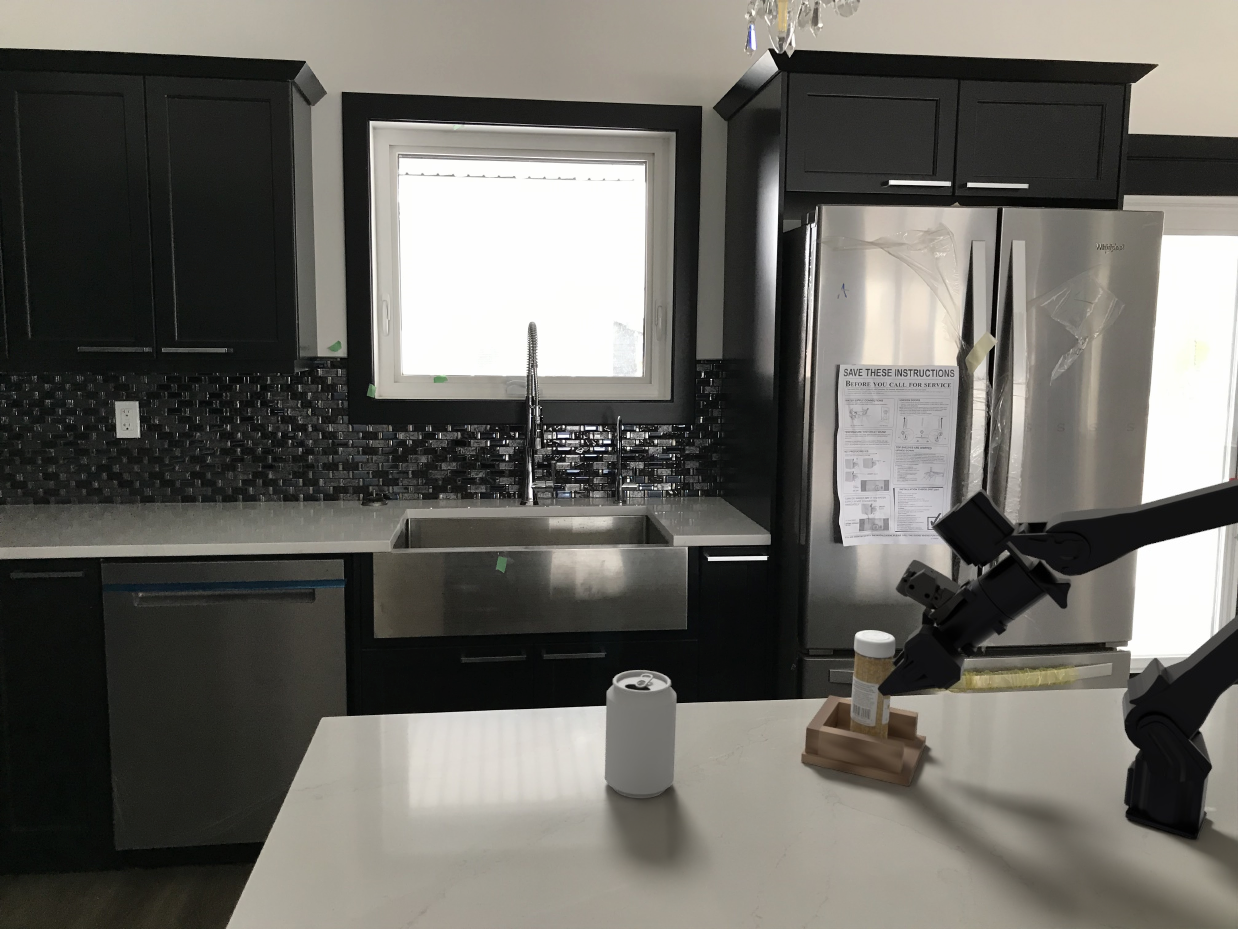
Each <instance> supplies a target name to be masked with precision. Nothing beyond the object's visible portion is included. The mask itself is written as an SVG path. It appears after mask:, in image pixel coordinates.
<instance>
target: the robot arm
mask: <svg viewBox="0 0 1238 929" xmlns="http://www.w3.org/2000/svg"><path fill="white" fill-rule="evenodd" d="M1236 524H1238V478H1235V479H1231V480H1229V481H1223V482H1220V483H1217V484H1214V485H1213V484H1212V485H1210V486H1205V487H1202V488H1198V489H1194V490H1190V491H1186V492H1183V493H1179V494H1175V495H1170V496H1168V497H1164V498H1160V499H1156V500H1153V501H1148V502H1144V503H1141V504H1137V505H1133V506H1126V507H1117V508H1115V507H1114V508H1113V507H1111V508H1108V507H1107V508H1092V509H1083V510H1082V509H1081V510H1071V511H1064V512H1060V513H1059V514H1056V515H1054V516H1053V517H1051V518H1049V520H1048V521H1045V520H1044V521H1043V520H1042V521H1023V522H1022V521H1021V522H1020V521H1019V522H1015V523H1013V522H1012V520H1010V519H1009V518H1008V517H1007V515H1006V514H1005V513H1004V512H1003V511H1002V510H1001V509H1000V508H999V507H998V506H997V505H996V504H995V503H994V501H993V499H992V497H991V496H990V495H989V494H988V492H986V491H985V489H983V488H980V489H979V490H978V491H977V492H975V493H974V494H972V495H971V496H970V497H968V498H966V499H965V500H964V501H963V502H961V503H960V502H959V503H957V504H956V505H954V506H953V508H951V509H950V510H949V511H947V513H945V514H944V515H942V517H941V518H939V519H938V520H937V521H936V522H935V523H934V524H933V525H932V526H931V528H932V529H931V530H933V531H934V532H935V533H936V534H937V535H938V536H939V537H940V539H941V540H942V541H943V542H944V544H946V545H947V546H948V547H949V548H950V550H952V551H953V553H954V554H955V555H956V556H957V557H958V558H959V559H960V560H961V561H962V563H964V565H965V566H966V567H969V566H971V565H973V566H974V567H975V568H977V567H978V566H979V568H981V569H983V568H984V567H986V566H988V565H989V564H990V563H992V562H993V561H994V560H996V559H997V558H999V556H1001V555H1002V554H1003V553H1005V552H1006V551H1007V552H1008V553H1009V554H1008V555H1006V556H1004V558H1002V559H1001V560H1000V561H998V562H997V563H996V564H994V565H993V566H992V567H991V568H989V569H988V570H986V571H985V572H984V573H983V574H981V575H980V576H978V577H977V578H976V579H974V578H972V579H970V578H967V579H966V580H965V581H963V582H962V583H961V584H959V583H958V582H956V581H954V580H953V579H951V578H950V577H948V576H947V575H946V574H944V573H941V572H939V571H938V570H936V569H934V568H933V567H931V566H929V565H927V564H926V563H924V562H922V561H920V560H917V559H913V560H912V561H910V563H909V564H908V566H907V568H906V569H905V572H904V573H903V575H902V576H901V578H900V580H899V582H898V583H897V585H896V586H895V591H896V592H897V593H898V594H900V595H901V596H903V597H904V598H909V599H912V600H913V601H914V602H917V603H918V604H921V605H922V606H924V607H925V608H924V610H923V611H922V616H921V626H919V627H918V628H917V629H915V630H914V631H913V632H911V633H910V635H908V636H907V638H906V639H905V641H904V643H903V650H902V651H901V652H900V653H899V654H898V656H897V657H896V658H895V659H894V660H893V661H892V666H894V668H893V669H892V672H891V673H890V674H889V675H888V676H887V678H886V679H885V680H884V681H883V682H882V683H881V684H880V685H879V687H878V691H879V692H880V693H881V694H882V695H883V696H888V695H890V696H892V695H897V694H898V695H899V694H903V693H904V694H905V693H911V692H915V691H917V692H918V691H924V690H932V689H938V690H942V689H944V690H945V691H948V690H949V689H951V688H952V687H953V686H954V685H955V684H957V683H958V682H960V681H961V680H962V678H963V675H964V672H965V664H966V659H965V656H966V657H967V658H970V657H972V656H973V655H975V653H976V652H977V650H978V647H980V646H981V645H982V644H983V643H985V642H986V641H988V640H989V639H991V638H992V637H993V636H994V635H996V634H997V635H998V636H1000V635H1002V634H1004V633H1005V632H1007V629H1008V627H1009V626H1008V625H1010V624H1011V623H1013V621H1015V620H1017V619H1018V618H1020V617H1021V616H1022V615H1024V614H1025V613H1026V612H1028V611H1029V610H1030V609H1033V607H1035V606H1036V605H1037V604H1038V603H1040V602H1042V601H1044V599H1046V598H1047V597H1050V598H1051V600H1052V601H1054V603H1055V604H1056V606H1058V607H1059V608H1060V609H1062V610H1065V609H1067V608H1068V602H1069V593H1070V590H1071V588H1072V580H1071V579H1070V578H1062V577H1058V576H1057V575H1056V574H1055V573H1054V572H1053V570H1054V571H1055V572H1057V573H1059V574H1061V575H1063V576H1069V577H1075V576H1083V575H1086V574H1088V573H1089V572H1093V571H1096V570H1097V569H1100V568H1101V567H1104V566H1106V565H1109V564H1111V563H1114V562H1116V561H1118V560H1119V559H1121V558H1123V557H1124V556H1126V555H1128V554H1130V553H1132V552H1134V551H1136V550H1139V549H1141V548H1143V547H1147V546H1149V545H1154V544H1157V543H1161V542H1166V541H1170V540H1174V539H1178V538H1182V537H1185V536H1190V535H1195V534H1199V533H1203V532H1206V531H1210V530H1214V529H1215V530H1216V529H1219V528H1222V527H1227V526H1230V525H1231V526H1232V525H1236ZM1029 557H1030V558H1029ZM1031 558H1034V560H1033V559H1032V560H1031ZM1043 561H1044V562H1043ZM1047 565H1048V566H1049V567H1050V568H1051V569H1052V570H1051V569H1050V568H1049V567H1048V566H1047ZM960 651H962V653H964V655H965V656H963V654H962V653H961V652H960ZM1237 682H1238V614H1237V615H1236V616H1234V617H1233V618H1232V619H1231V620H1230V621H1229V622H1227V623H1226V624H1225V625H1224V626H1223V627H1222V628H1220V629H1219V630H1218V631H1217V632H1216V633H1215V634H1213V635H1212V636H1211V637H1210V638H1209V639H1208V640H1206V641H1205V642H1204V643H1203V644H1201V646H1200V647H1199V648H1197V649H1196V650H1195V651H1194V652H1192V653H1191V654H1190V655H1189V656H1188V657H1186V658H1185V659H1183V660H1181V661H1178V662H1177V663H1173V664H1170V665H1168V666H1166V667H1165V665H1163V663H1162V662H1161V661H1160V659H1159V658H1158V657H1154V658H1152V659H1151V661H1150V662H1149V663H1147V666H1146V667H1145V668H1144V670H1142V671H1141V672H1140V673H1139V674H1137V675H1136V676H1134V677H1132V678H1128V679H1127V680H1126V689H1127V690H1126V691H1125V692H1124V694H1123V696H1122V699H1121V706H1122V708H1121V709H1122V717H1123V727H1124V732H1125V734H1126V736H1127V739H1128V740H1129V741H1130V742H1131V743H1132V745H1133V746H1134V747H1136V748H1137V749H1138V751H1137V753H1136V755H1135V756H1134V760H1132V761H1131V763H1130V764H1129V766H1128V768H1127V772H1126V773H1127V774H1126V781H1125V791H1124V799H1123V804H1125V806H1127V809H1126V810H1125V814H1124V817H1125V818H1126V819H1128V820H1129V821H1130V820H1131V821H1133V822H1137V823H1140V824H1144V825H1147V826H1150V827H1153V828H1156V829H1160V830H1163V831H1166V832H1169V833H1173V834H1174V835H1175V834H1176V835H1179V836H1181V837H1185V838H1188V839H1191V840H1198V839H1199V837H1200V834H1201V832H1202V828H1203V827H1204V824H1205V821H1206V819H1207V815H1208V812H1207V811H1205V807H1206V800H1207V793H1208V792H1207V791H1208V783H1209V776H1210V772H1211V771H1212V770H1213V765H1212V762H1211V758H1210V755H1209V751H1208V749H1207V748H1208V747H1207V745H1206V741H1205V738H1204V734H1203V732H1202V731H1201V730H1200V729H1201V728H1202V727H1203V725H1204V723H1205V721H1206V720H1207V718H1208V716H1209V715H1210V713H1211V711H1212V710H1213V708H1214V706H1215V704H1216V702H1217V701H1218V699H1219V698H1220V697H1221V696H1222V694H1224V693H1225V692H1226V691H1227V690H1229V689H1230V688H1231V687H1232V686H1234V685H1235V684H1236V683H1237Z"/></svg>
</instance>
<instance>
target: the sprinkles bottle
mask: <svg viewBox="0 0 1238 929" xmlns="http://www.w3.org/2000/svg"><path fill="white" fill-rule="evenodd" d="M853 644H854V645H853V649H854V655H855V656H854V663H853V664H854V666H853V667H854V668H853V674H852V686H851V687H852V689H851V698H850V699H851V725H850V726H851V727H850V731H851V732H856V733H860V734H865V735H870V736H875V737H879V738H884V739H887V732H888V721H889V711H890V707H891V695H888V696H883V695H882V694H881V693H880V692H879V691H878V687H879V685H880V684H881V683H882V682H883V681H884V680H885V679H886V678H887V676H888V675H889V674H890V673H891V672H892V671H893V659H894V655H895V654H896V638H895V637H894V635H892V634H890V633H888V632H885V631H880V630H875V629H874V630H873V629H872V630H871V629H870V630H860V631H858V632H856V634H855V636H854V643H853Z"/></svg>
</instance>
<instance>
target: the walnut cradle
mask: <svg viewBox="0 0 1238 929" xmlns="http://www.w3.org/2000/svg"><path fill="white" fill-rule="evenodd" d="M851 699H852V698H845V697H840V696H837V695H831V694H829V695H828V697H827V698H826V699H825V701H824V702H823V703H822V705H821V706H820V708H819V709H818V711H817V712H816V713H815V715H814V716H813V718H812V719H811V720H810V722H809V723H808V724H807V726H806V728H805V730H806V731H805V745H804V746H805V747H804V749H803V751H802V752H801V760H800V762H801V763H805V764H808V765H809V764H810V765H814V766H818V767H822V768H826V769H832V770H836V771H839V772H845V773H847V774H848V773H849V774H853V775H858V776H862V777H865V778H866V777H867V778H871V779H874V780H878V781H884V782H888V783H891V784H892V783H893V784H896V785H900V786H905V787H910V784H911V781H912V779H913V776H914V774H915V772H916V769H917V767H918V764H919V761H920V759H921V757H922V755H923V752H924V750H925V746H926V742H927V736H925V735H923V734H917V733H918V720H919V712H918V711H912V710H907V709H901V708H898V707H894V706H893V707H892V706H890V711H889V721H888V732H887V739H884V738H879V737H875V736H870V735H865V734H860V733H856V732H851V731H850V727H851V726H850V725H851Z"/></svg>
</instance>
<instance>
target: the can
mask: <svg viewBox="0 0 1238 929" xmlns="http://www.w3.org/2000/svg"><path fill="white" fill-rule="evenodd" d="M671 686H672V680H671V679H670V678H669V677H668V676H667V675H664V674H663V673H660V672H657V671H654V670H653V671H650V670H645V669H643V670H641V669H640V670H639V669H638V670H628V671H624V672H621V673H619V674H616V675H615V676H614V678H612V685H611V686H610V687H609V688H608V690H606V703H605V704H606V705H605V706H606V707H605V709H606V713H605V748H604V749H605V752H604V753H605V754H604V757H605V758H604V780H605V781H606V784H608V786H610V787H611V788H612V789H613V791H615V792H616V793H618V794H619V795H622V796H624V797H627V798H633V799H648V798H649V799H650V798H653V797H656V796H659V795H660V794H662V793H664V792H665V790H667V789H668V788H669V787H671V786H672V784H673V783H674V779H675V758H676V757H675V753H676V750H675V748H676V720H677V693H676V691H675V690H674V689H673V688H672V687H671Z"/></svg>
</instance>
